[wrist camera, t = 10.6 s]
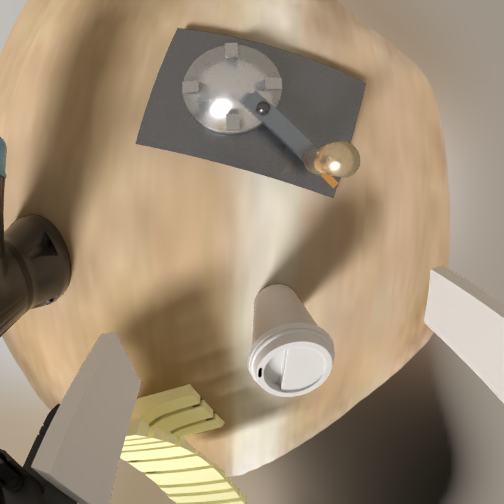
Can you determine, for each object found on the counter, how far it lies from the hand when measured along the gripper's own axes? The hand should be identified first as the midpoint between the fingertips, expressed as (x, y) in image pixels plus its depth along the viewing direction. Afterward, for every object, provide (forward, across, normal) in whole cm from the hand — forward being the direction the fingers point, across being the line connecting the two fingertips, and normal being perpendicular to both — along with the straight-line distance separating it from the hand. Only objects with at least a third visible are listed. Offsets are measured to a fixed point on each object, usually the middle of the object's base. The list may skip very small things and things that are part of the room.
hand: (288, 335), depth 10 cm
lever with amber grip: (+25, +4, +12) cm, 28 cm away
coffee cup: (+27, +2, -14) cm, 31 cm away
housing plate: (+27, +4, +14) cm, 31 cm away
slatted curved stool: (+28, -21, -36) cm, 50 cm away
